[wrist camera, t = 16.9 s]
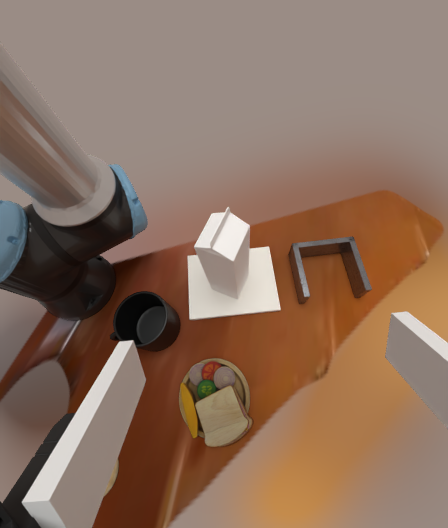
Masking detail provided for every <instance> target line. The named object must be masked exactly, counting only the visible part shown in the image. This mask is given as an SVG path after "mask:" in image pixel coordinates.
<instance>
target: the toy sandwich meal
mask: <svg viewBox="0 0 448 528" xmlns="http://www.w3.org/2000/svg"><path fill="white" fill-rule="evenodd" d="M249 405H250V392H249V387H248V384H247V381H246V379H245V377H244V375H243V374H242V372H241V371H240V370H239V369H238V368H237V367H236V366H235V365H233V364H232V363H230V362H228V361H226V360H223V359H217V358H213V359H207V360H204V361H201V362H199V363H197V364H195V365H193V366H192V368H191V369H190V370H189V372H188V373H187V374H186V376H185V378H184V379H183V382H182V383H181V384H180V392H179V406H180V411H181V414H182V417H183V419H184V421H185V423H186V424H187V426H188V427H189V429H190V432H191V435H192V437H193V438H196V437H197V436H198V435H199V436H201V437H203V438H205V444H206V445H207V446H209V447H223V446H228V445H230V444H233V443H235V442H236V441H238V440H239V439H241V438H242V437H243V436H244V435H245V434H246V433H247V432H248V431H249V429H250V428H251V426H252V424H253V419H252V418H251V417H250V416H249V415H248V410H249Z"/></svg>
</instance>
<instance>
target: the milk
mask: <svg viewBox="0 0 448 528" xmlns="http://www.w3.org/2000/svg"><path fill="white" fill-rule="evenodd" d="M249 241H250V226H249V225H248V224H247V223H245V222H244V221H242V220H241V219H239V218H238V217H236V216H235V215H233V214H232V213H230V207H228V208H227V210H226V212H225V213H212V214H211V216H210V218H209V220H208V222H207V224H206V226H205V227H204V229H203V231H202V233H201V235H200V237H199V239H198V240H197V242H196V244H195V246H194V248H195V251H196V253H197V255H198V258H199V260H200V262H201V265H202V267H203V270H204V272H205V274H206V277H207V279H208V281H209V284H210V286H211V289H213V290H215V291H218V292H220V293H223V294H225V295H228V296H230V297H232V298H235V299H237V300H238V299H239V296H240V294H241V292H242V289H243V287H244V284H245V282H246V280H247V277H248V275H249Z"/></svg>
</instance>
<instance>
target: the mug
mask: <svg viewBox="0 0 448 528" xmlns="http://www.w3.org/2000/svg"><path fill="white" fill-rule="evenodd" d="M113 326H114V331H115V332H114V333H112V334H111V335H110V339H112V340H115V341H116V340H120V341H130V340H134V343H135V346H136V348H139V349H144V350H148V351H160V350H163V349H165V348H167V347H168V346H170V345H171V344H172V343H173V342H174V341H175V339H176V338H177V336H178V333H179V330H180V319H179V316H178V314H177V312H176V311H175V310H174V309H173V308H172V307H171V306H170V305H169V304H168V303H167V302H165V301H164V300H163V299H162V298H161V297H160V296H158V295H157V294H155V293H152V292H147V291H142V292H137V293H134V294H132V295H130V296H128V297H127V298H126V299H125V300H123V301H122V303H121V304H120V305H119V307H118V308H117V310H116V312H115V315H114V320H113Z"/></svg>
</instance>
